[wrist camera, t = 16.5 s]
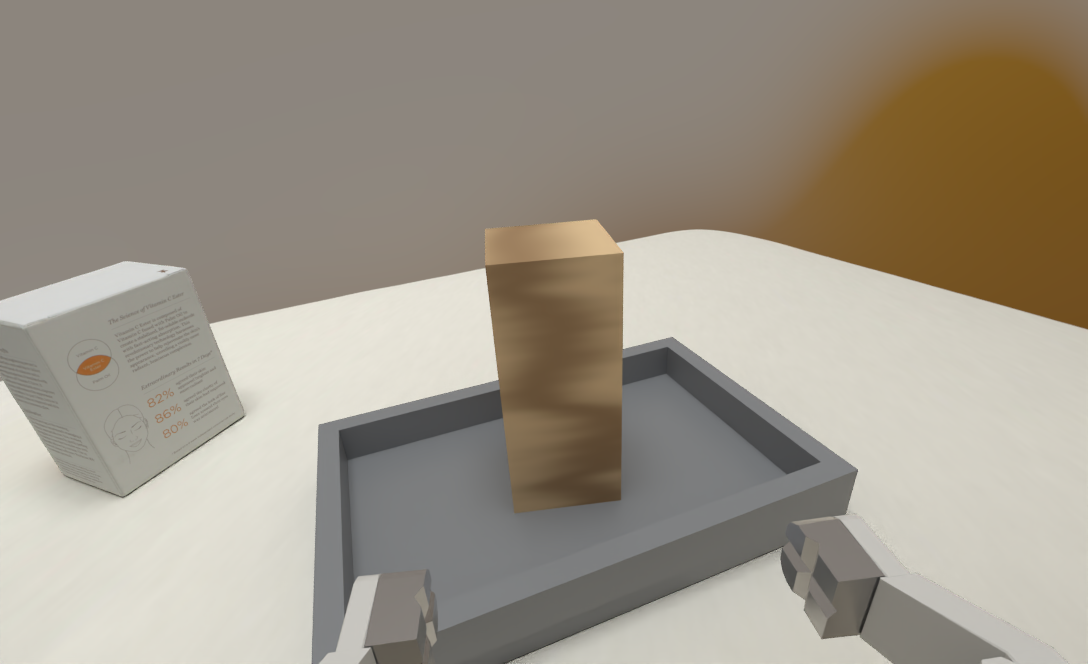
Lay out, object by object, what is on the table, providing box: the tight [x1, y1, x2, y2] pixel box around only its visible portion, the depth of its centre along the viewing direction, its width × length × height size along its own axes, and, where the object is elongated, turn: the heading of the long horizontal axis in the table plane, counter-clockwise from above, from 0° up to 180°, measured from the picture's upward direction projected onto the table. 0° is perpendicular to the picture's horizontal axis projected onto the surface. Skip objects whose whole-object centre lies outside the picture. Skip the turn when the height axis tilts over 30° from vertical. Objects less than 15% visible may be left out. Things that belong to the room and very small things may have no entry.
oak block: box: [485, 220, 624, 513], centre depth 23 cm, size 5×5×12 cm
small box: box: [0, 261, 244, 496], centre depth 29 cm, size 8×6×10 cm
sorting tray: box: [312, 337, 858, 664], centre depth 25 cm, size 22×14×3 cm, turn 111°
